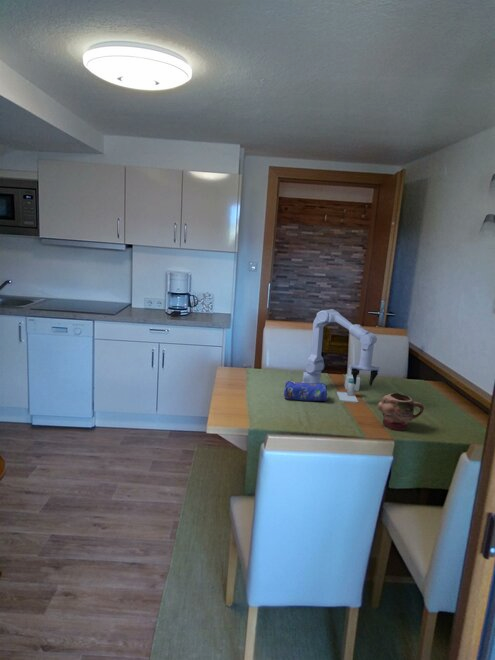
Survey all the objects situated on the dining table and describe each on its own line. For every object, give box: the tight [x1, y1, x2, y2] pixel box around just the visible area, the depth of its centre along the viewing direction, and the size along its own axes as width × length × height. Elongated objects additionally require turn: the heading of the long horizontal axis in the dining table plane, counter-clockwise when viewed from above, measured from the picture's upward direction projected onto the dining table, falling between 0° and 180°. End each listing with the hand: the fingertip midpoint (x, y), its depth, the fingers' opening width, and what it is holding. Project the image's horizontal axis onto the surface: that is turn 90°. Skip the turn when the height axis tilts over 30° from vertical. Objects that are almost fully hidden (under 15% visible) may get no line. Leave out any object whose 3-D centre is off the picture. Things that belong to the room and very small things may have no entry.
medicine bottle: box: [344, 367, 361, 392], centre depth 240 cm, size 7×7×12 cm
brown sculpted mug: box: [376, 392, 425, 431], centre depth 193 cm, size 20×12×14 cm, turn 93°
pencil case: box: [283, 380, 328, 402], centre depth 218 cm, size 22×9×10 cm, turn 90°
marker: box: [346, 378, 355, 396], centre depth 228 cm, size 4×4×8 cm
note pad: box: [336, 390, 359, 404], centre depth 226 cm, size 9×13×1 cm
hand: (362, 384), depth 216 cm, fingers open, 7 cm apart
